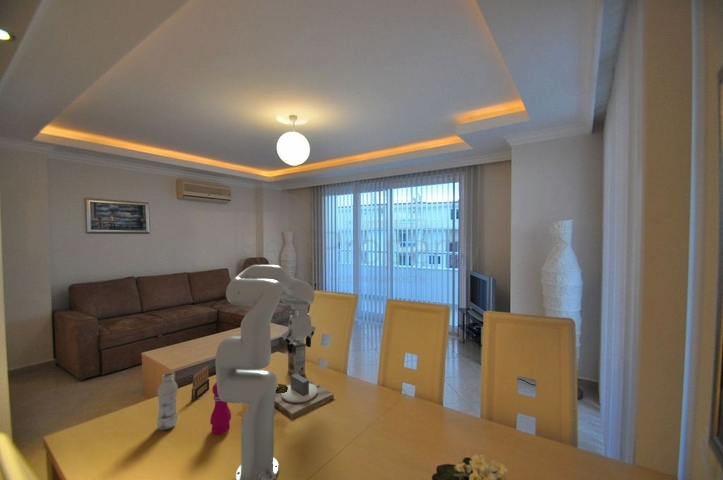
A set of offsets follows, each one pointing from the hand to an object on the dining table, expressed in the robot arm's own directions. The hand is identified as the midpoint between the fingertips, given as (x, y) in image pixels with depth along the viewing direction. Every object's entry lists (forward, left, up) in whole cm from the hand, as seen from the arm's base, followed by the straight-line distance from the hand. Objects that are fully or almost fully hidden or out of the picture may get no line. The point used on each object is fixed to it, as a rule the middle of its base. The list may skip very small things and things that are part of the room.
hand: (299, 349), depth 136 cm
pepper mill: (+2, +34, -23) cm, 41 cm away
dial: (0, 0, -20) cm, 20 cm away
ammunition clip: (+35, +31, -23) cm, 52 cm away
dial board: (0, 0, -22) cm, 22 cm away
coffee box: (+24, -14, -23) cm, 36 cm away
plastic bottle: (+18, +48, -23) cm, 56 cm away
